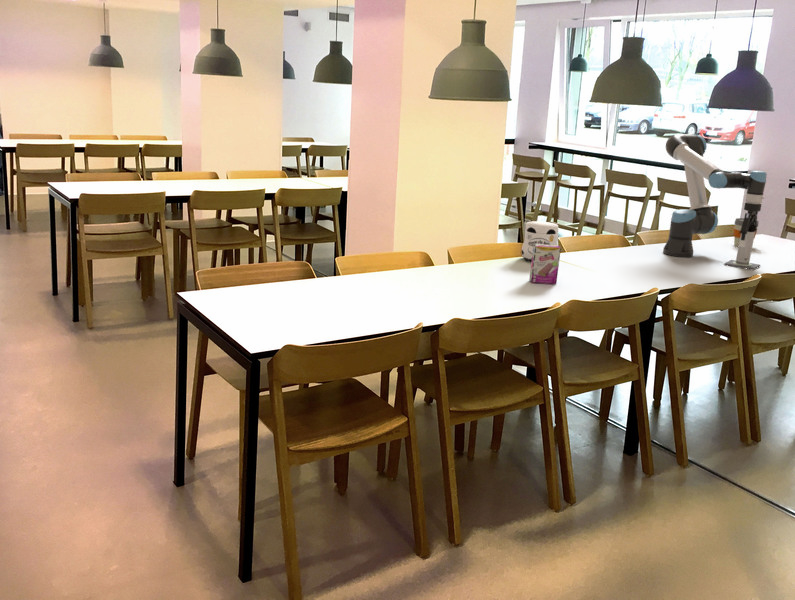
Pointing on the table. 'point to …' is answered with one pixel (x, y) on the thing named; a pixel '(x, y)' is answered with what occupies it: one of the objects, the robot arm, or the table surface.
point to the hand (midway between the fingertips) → (745, 245)
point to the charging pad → (749, 266)
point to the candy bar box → (544, 264)
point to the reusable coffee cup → (737, 229)
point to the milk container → (538, 236)
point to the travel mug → (746, 247)
